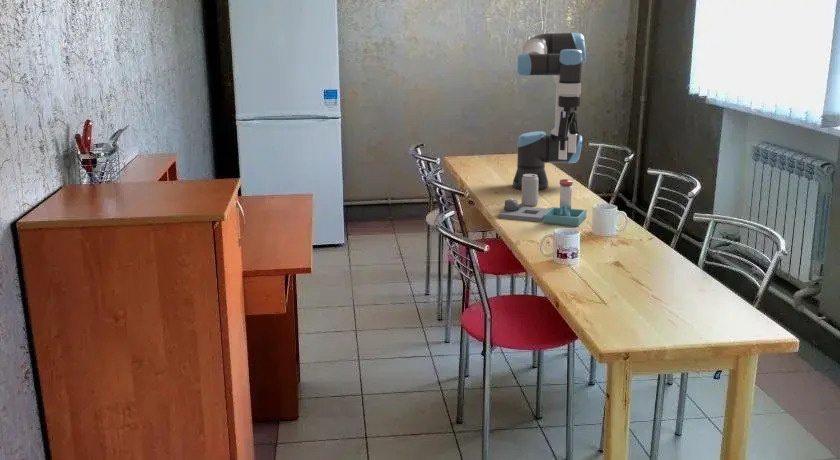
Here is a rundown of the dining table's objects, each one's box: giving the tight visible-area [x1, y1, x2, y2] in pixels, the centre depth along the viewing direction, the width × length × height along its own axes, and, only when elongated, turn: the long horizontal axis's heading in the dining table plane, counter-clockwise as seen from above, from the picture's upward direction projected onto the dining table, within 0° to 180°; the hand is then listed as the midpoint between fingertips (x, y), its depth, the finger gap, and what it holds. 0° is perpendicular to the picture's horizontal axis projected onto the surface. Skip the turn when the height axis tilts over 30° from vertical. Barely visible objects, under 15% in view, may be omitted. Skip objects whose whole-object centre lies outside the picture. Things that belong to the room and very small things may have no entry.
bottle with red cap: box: [559, 178, 574, 217], centre depth 283 cm, size 5×5×14 cm
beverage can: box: [520, 174, 539, 207], centre depth 306 cm, size 6×6×12 cm
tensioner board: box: [498, 198, 551, 223], centre depth 292 cm, size 14×16×6 cm
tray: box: [542, 206, 588, 227], centre depth 284 cm, size 13×13×3 cm
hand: (567, 155), depth 279 cm, fingers open, 13 cm apart
